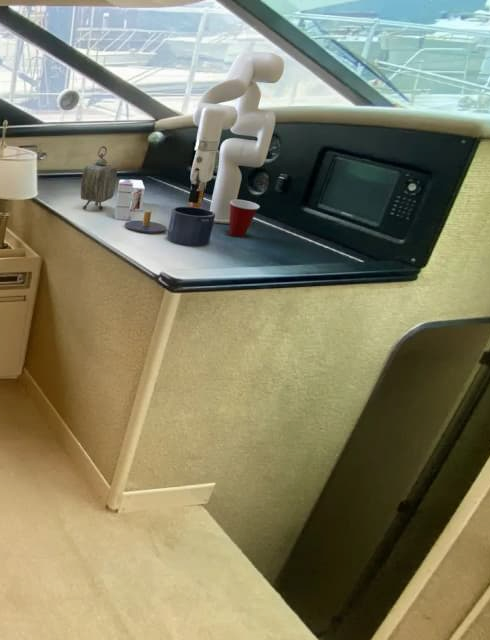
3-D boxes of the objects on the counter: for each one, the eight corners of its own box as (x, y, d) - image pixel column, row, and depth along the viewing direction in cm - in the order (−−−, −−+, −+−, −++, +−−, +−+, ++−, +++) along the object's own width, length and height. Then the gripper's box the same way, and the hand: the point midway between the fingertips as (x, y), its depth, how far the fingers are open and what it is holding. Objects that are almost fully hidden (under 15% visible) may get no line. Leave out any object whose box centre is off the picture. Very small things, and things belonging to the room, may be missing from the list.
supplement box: (188, 204, 213) (193, 175, 208) (197, 205, 213) (203, 175, 208) (191, 207, 210) (197, 177, 205) (201, 207, 210) (207, 177, 205)
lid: (156, 223, 237) (159, 206, 234) (172, 234, 224) (175, 216, 221) (119, 223, 235) (121, 206, 232) (133, 234, 221) (135, 216, 218)
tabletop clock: (94, 204, 262) (102, 143, 250) (113, 208, 257) (121, 146, 245) (78, 209, 251) (85, 146, 239) (97, 213, 247) (105, 149, 235)
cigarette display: (126, 200, 272) (129, 179, 267) (138, 201, 271) (141, 180, 267) (128, 210, 254) (131, 188, 250) (141, 211, 254) (145, 189, 249)
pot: (194, 233, 227) (200, 205, 222) (219, 248, 210) (226, 218, 205) (158, 232, 225) (163, 204, 220) (180, 248, 207) (186, 218, 202)
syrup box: (128, 220, 240) (134, 182, 233) (113, 218, 240) (118, 181, 234) (128, 217, 245) (134, 180, 238) (114, 215, 245) (119, 178, 238)
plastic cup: (238, 239, 222) (246, 207, 216) (216, 232, 230) (223, 200, 224) (258, 237, 226) (266, 205, 221) (236, 230, 235) (244, 198, 229)
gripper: (209, 149, 194) (197, 207, 203) (225, 145, 206) (213, 199, 215) (187, 146, 198) (176, 203, 206) (204, 142, 210) (193, 196, 219)
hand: (195, 200), depth 210 cm, fingers closed on supplement box, 4 cm apart
